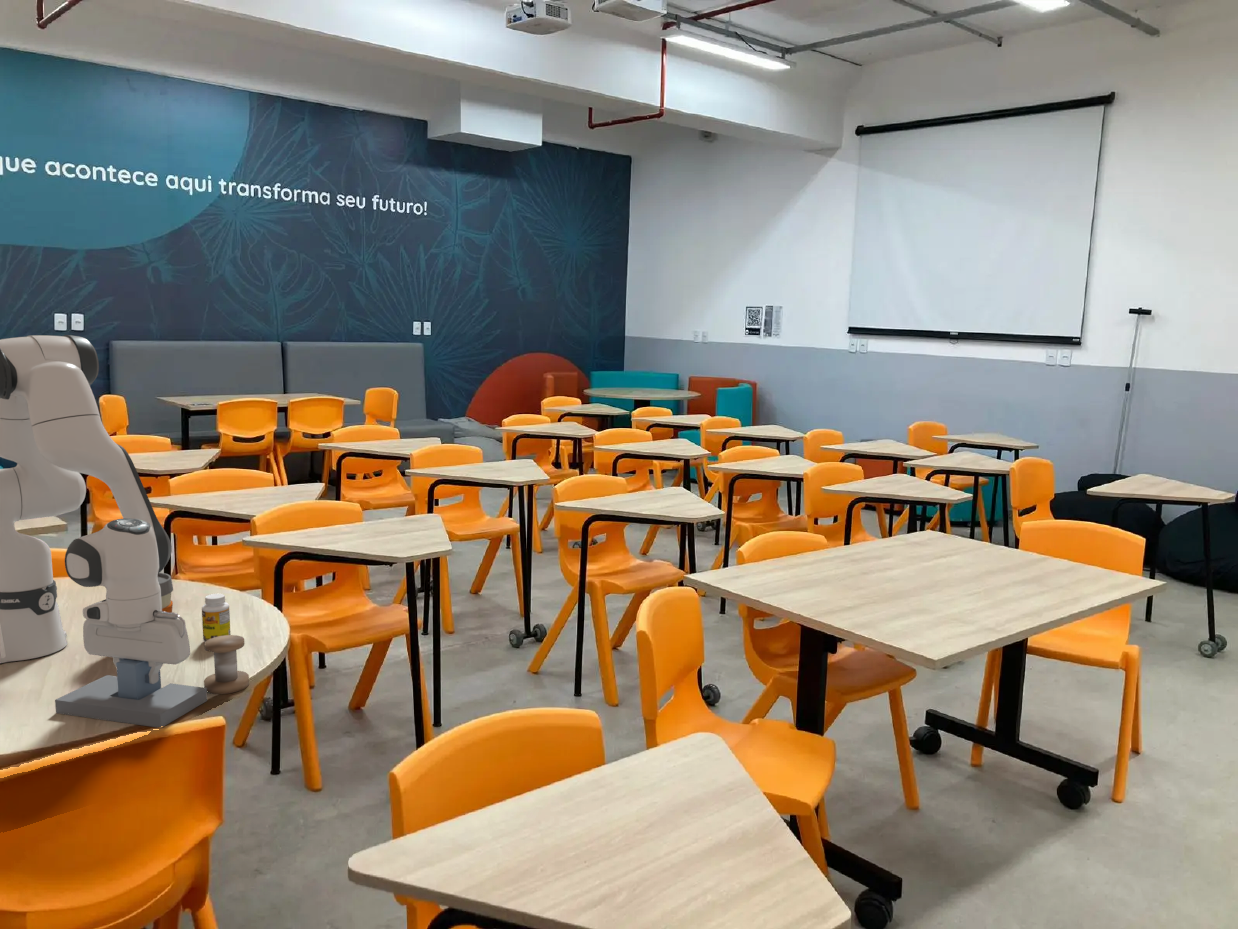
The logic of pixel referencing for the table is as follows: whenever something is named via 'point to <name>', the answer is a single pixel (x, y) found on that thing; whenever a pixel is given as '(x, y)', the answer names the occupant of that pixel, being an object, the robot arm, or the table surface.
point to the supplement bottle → (215, 617)
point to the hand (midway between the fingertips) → (139, 681)
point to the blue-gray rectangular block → (134, 679)
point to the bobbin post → (225, 665)
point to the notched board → (130, 703)
